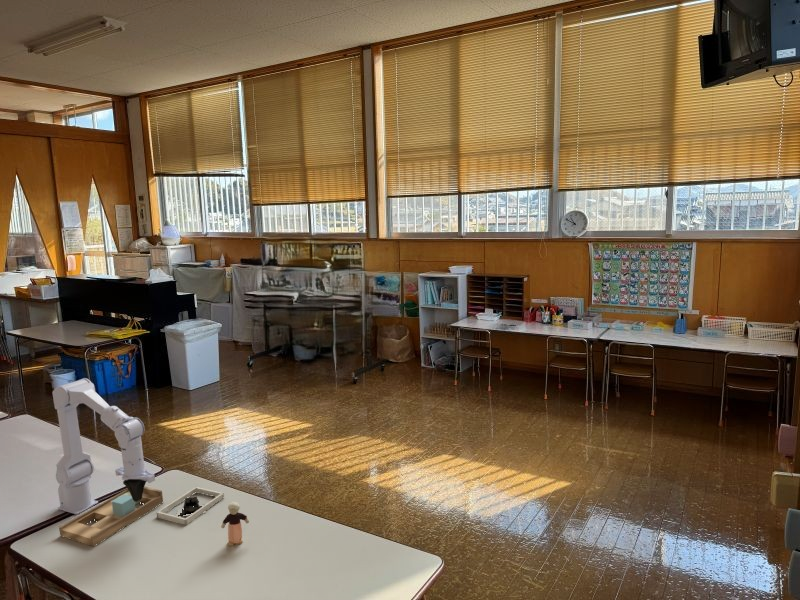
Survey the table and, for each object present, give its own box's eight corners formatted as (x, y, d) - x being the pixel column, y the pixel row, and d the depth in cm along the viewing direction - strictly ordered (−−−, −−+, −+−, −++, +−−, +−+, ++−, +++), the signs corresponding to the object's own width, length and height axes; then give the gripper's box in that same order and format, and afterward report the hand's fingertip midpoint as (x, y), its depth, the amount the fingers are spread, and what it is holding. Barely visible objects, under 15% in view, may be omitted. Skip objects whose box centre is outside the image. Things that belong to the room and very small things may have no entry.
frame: (156, 517, 175) (156, 512, 174) (196, 491, 190) (195, 486, 190) (186, 525, 170) (185, 519, 170) (224, 498, 185) (223, 493, 185)
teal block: (113, 514, 173) (111, 501, 172) (125, 507, 177) (123, 494, 176) (123, 517, 171) (121, 504, 170) (135, 509, 175) (134, 496, 174)
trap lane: (60, 536, 166) (58, 522, 165) (131, 495, 189) (130, 483, 188) (93, 546, 160) (92, 533, 159) (163, 502, 183) (161, 490, 183)
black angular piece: (170, 521, 173) (168, 508, 173) (173, 509, 180) (172, 496, 180) (211, 515, 176) (210, 502, 176) (213, 503, 183) (211, 490, 183)
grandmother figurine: (224, 549, 157) (221, 509, 155) (222, 542, 160) (218, 502, 158) (251, 541, 160) (248, 501, 158) (248, 535, 164) (245, 495, 162)
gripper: (104, 460, 167) (110, 501, 169) (139, 468, 161) (144, 510, 163) (124, 451, 173) (129, 490, 176) (158, 458, 168) (163, 499, 170)
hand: (137, 499), depth 170 cm, fingers closed
